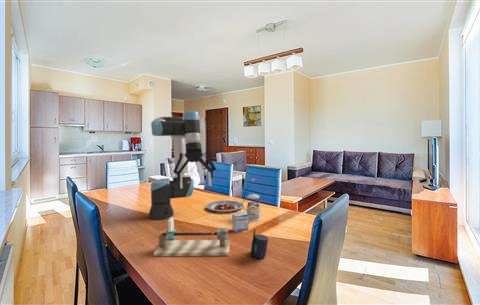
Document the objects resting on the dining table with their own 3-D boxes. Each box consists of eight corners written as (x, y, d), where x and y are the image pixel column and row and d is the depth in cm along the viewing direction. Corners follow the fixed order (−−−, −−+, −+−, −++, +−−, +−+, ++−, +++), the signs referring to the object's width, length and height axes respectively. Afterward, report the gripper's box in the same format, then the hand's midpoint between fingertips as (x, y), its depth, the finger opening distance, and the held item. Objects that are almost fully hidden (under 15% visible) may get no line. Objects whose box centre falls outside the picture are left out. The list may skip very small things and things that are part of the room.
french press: (260, 222, 141) (260, 180, 139) (241, 220, 143) (240, 179, 141) (262, 216, 150) (262, 177, 148) (244, 215, 153) (243, 176, 151)
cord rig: (153, 256, 102) (152, 236, 101) (162, 243, 114) (162, 225, 113) (228, 255, 102) (228, 235, 101) (229, 242, 114) (229, 224, 113)
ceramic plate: (248, 212, 160) (248, 207, 160) (209, 216, 153) (209, 211, 152) (237, 201, 185) (237, 198, 184) (204, 205, 177) (204, 201, 177)
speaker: (246, 256, 100) (248, 232, 99) (250, 251, 105) (253, 228, 105) (263, 262, 97) (266, 237, 96) (267, 256, 102) (270, 232, 102)
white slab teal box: (166, 240, 105) (165, 220, 105) (169, 236, 110) (168, 217, 109) (173, 240, 105) (172, 220, 105) (176, 236, 110) (175, 217, 109)
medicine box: (235, 232, 126) (235, 216, 125) (232, 229, 130) (231, 214, 129) (248, 229, 130) (248, 214, 129) (244, 226, 133) (244, 211, 133)
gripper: (167, 142, 108) (169, 189, 105) (220, 140, 117) (223, 184, 114) (165, 145, 115) (168, 189, 112) (215, 143, 124) (219, 184, 121)
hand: (196, 187), depth 113 cm, fingers open, 13 cm apart
